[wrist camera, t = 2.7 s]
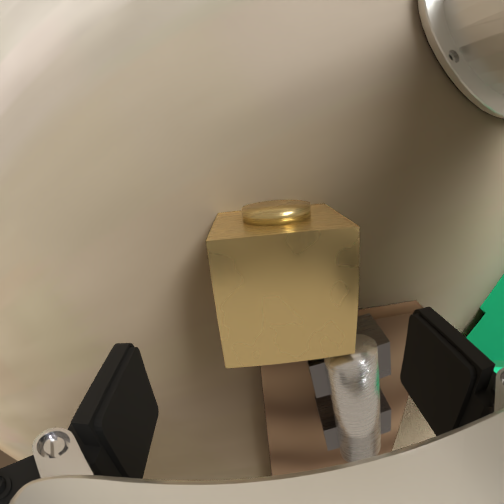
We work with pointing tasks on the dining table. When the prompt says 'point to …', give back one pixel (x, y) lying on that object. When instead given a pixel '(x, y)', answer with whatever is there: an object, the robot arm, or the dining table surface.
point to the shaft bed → (305, 409)
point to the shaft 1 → (354, 393)
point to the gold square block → (284, 282)
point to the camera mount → (491, 327)
